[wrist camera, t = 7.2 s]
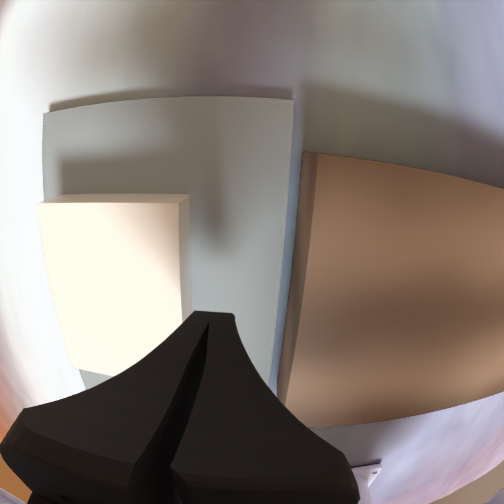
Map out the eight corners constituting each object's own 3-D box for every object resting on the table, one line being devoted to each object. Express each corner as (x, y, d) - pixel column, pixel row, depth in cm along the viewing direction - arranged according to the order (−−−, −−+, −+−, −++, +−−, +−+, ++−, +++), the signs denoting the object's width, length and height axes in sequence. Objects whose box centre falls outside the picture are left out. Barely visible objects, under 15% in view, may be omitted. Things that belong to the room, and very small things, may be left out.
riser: (518, 356, 16) (537, 377, 13) (276, 387, 16) (280, 428, 13) (566, 210, 12) (594, 221, 9) (302, 151, 12) (318, 153, 9)
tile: (72, 367, 12) (87, 344, 14) (187, 387, 12) (194, 360, 14) (37, 203, 10) (63, 194, 12) (178, 203, 10) (190, 194, 12)
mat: (264, 410, 16) (264, 416, 16) (90, 388, 16) (87, 393, 16) (292, 102, 11) (294, 100, 10) (49, 113, 11) (43, 113, 10)
